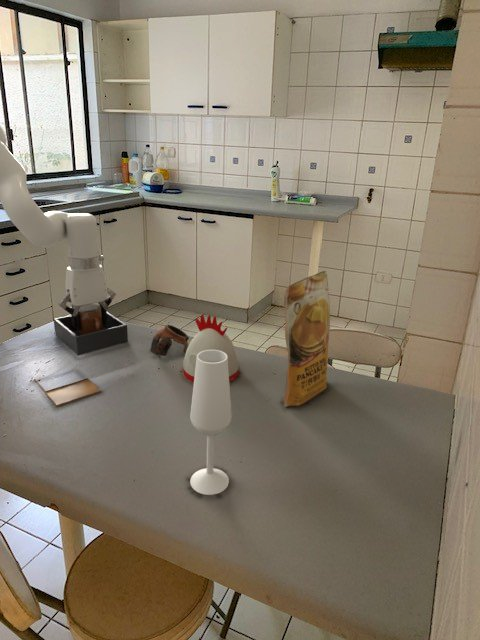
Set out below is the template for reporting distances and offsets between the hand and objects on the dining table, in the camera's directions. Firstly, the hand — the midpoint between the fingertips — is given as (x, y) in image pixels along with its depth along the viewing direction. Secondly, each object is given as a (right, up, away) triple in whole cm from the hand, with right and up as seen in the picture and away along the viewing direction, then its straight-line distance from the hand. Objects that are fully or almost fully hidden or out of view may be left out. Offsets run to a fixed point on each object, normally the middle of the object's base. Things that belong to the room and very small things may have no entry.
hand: (90, 324), depth 128 cm
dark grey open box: (0, -5, +2) cm, 5 cm away
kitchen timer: (+34, -12, -12) cm, 38 cm away
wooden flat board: (+1, -14, -21) cm, 25 cm away
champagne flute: (+36, -27, -48) cm, 66 cm away
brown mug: (0, -4, +1) cm, 4 cm away
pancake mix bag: (+56, -16, -19) cm, 61 cm away
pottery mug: (+22, -8, -3) cm, 24 cm away
